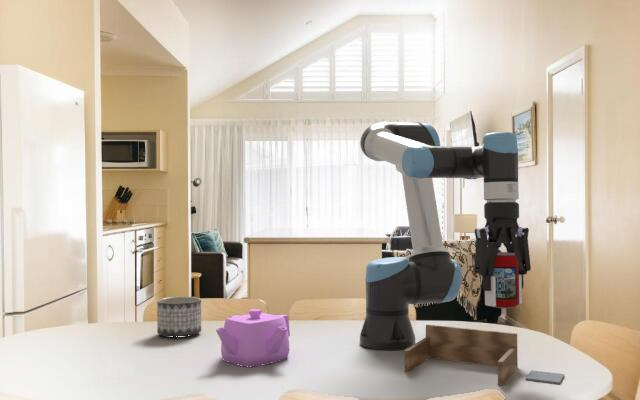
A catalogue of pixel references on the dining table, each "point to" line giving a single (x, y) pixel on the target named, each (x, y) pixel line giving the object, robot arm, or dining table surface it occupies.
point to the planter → (179, 316)
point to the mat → (545, 377)
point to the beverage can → (506, 280)
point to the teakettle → (255, 338)
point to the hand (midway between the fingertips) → (503, 304)
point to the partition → (466, 349)
